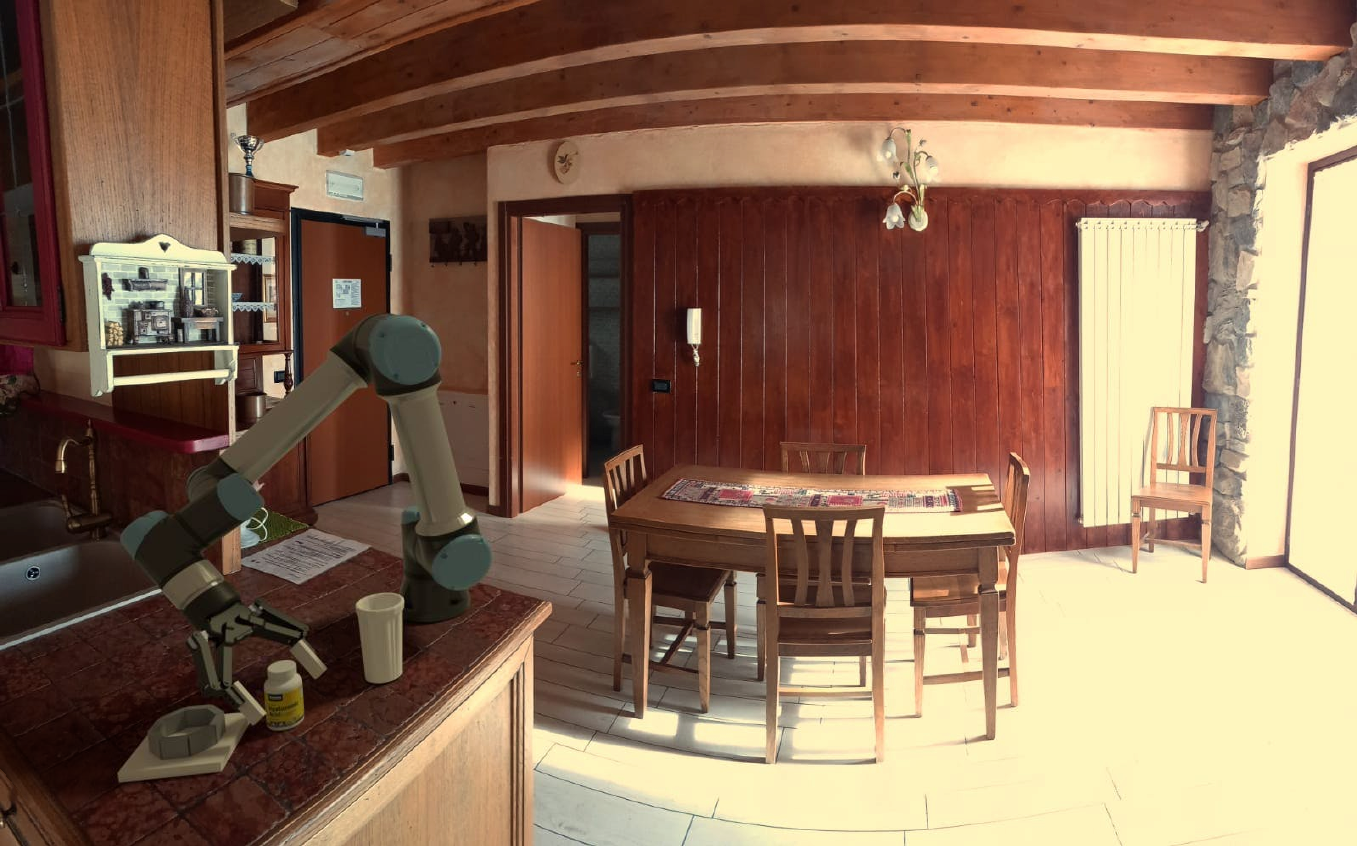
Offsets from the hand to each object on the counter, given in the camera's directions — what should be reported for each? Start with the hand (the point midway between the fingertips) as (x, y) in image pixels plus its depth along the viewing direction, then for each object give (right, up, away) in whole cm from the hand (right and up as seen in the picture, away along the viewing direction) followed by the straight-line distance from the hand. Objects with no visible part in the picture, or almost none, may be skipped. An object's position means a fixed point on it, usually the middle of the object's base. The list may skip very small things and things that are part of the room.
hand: (292, 695), depth 118 cm
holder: (-12, -6, -6) cm, 15 cm away
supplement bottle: (-2, -5, +1) cm, 5 cm away
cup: (+8, -2, +16) cm, 18 cm away
